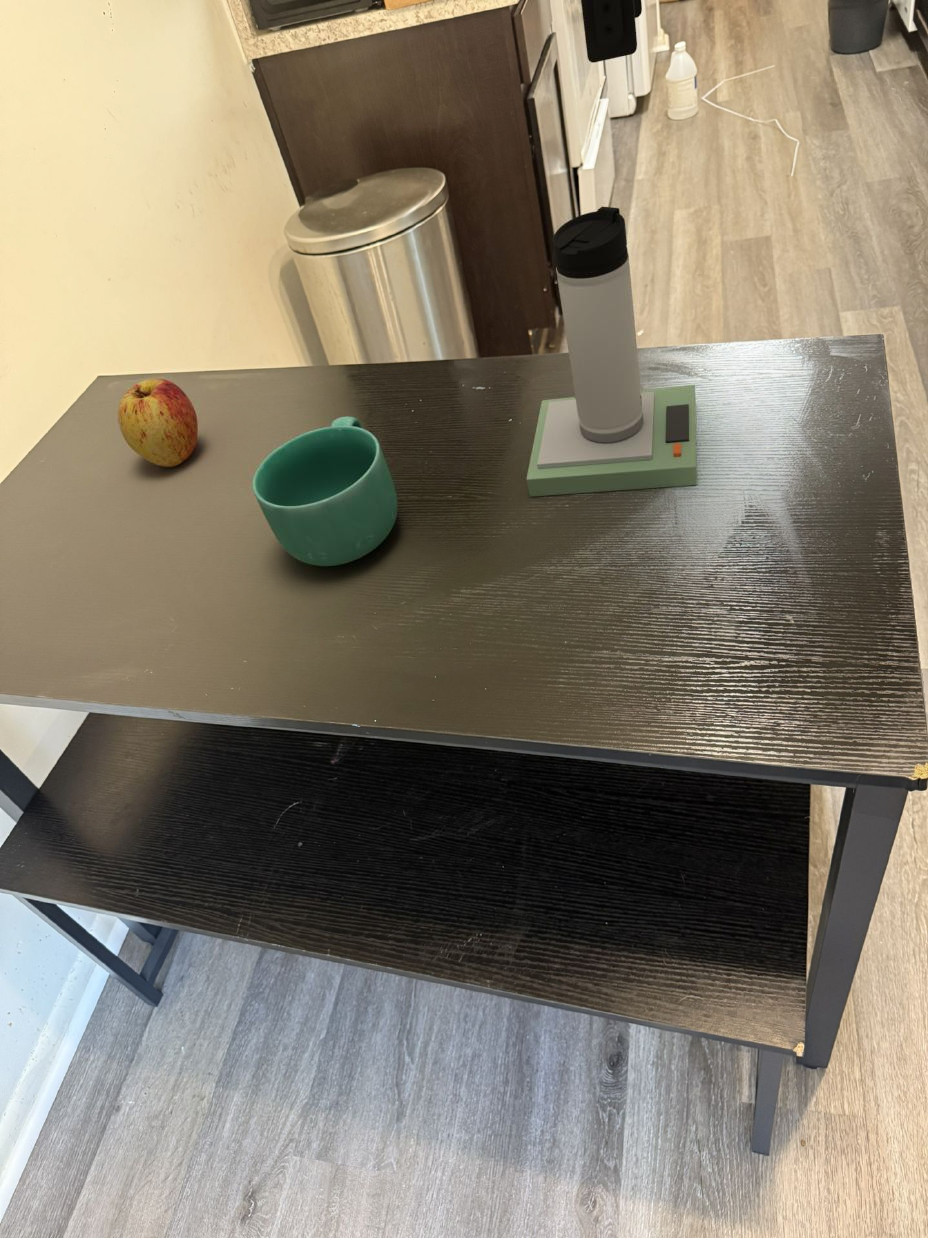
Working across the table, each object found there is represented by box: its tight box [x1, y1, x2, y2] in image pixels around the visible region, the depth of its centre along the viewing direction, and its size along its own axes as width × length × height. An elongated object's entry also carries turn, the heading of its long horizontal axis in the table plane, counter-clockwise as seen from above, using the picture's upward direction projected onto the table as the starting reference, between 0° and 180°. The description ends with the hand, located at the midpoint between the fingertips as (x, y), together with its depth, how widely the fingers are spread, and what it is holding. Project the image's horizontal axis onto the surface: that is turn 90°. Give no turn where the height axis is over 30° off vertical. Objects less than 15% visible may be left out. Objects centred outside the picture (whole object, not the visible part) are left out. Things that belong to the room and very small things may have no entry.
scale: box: [525, 384, 698, 498], centre depth 87 cm, size 16×14×3 cm
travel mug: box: [552, 206, 643, 443], centre depth 79 cm, size 6×7×20 cm
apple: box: [117, 378, 199, 468], centre depth 104 cm, size 9×9×10 cm
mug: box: [252, 416, 399, 567], centre depth 85 cm, size 17×13×10 cm
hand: (616, 37), depth 60 cm, fingers open, 9 cm apart
